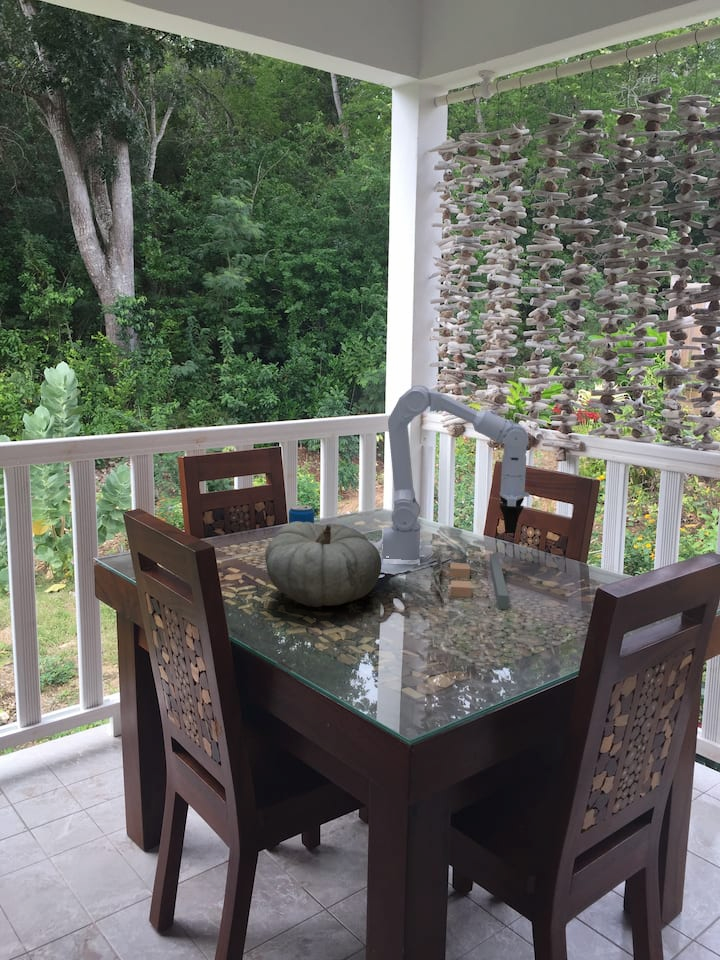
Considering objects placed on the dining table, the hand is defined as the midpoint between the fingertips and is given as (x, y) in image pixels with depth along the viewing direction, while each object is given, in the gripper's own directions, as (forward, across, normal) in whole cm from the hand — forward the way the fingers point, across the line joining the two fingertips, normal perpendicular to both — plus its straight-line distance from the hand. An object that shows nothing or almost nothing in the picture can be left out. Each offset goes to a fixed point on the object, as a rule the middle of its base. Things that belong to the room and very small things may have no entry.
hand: (510, 529), depth 201 cm
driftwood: (+10, -17, +16) cm, 25 cm away
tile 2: (+10, -10, +11) cm, 18 cm away
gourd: (+10, -34, +39) cm, 53 cm away
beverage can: (+10, 0, +53) cm, 54 cm away
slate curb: (+10, -16, +2) cm, 19 cm away
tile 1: (+10, -24, +10) cm, 27 cm away
